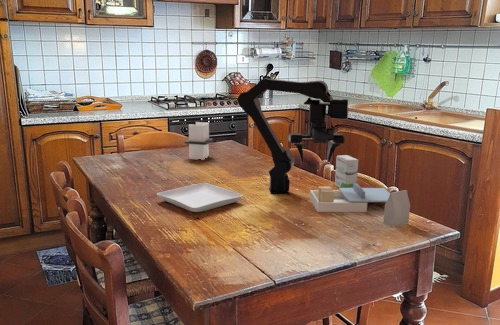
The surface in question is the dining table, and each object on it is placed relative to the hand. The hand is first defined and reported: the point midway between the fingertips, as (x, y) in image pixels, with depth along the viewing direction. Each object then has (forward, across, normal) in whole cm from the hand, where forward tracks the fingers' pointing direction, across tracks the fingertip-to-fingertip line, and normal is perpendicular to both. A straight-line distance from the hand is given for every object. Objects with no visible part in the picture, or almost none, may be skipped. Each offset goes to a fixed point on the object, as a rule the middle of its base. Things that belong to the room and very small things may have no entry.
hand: (315, 162), depth 167 cm
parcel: (+12, +2, -11) cm, 16 cm away
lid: (+9, +16, -11) cm, 21 cm away
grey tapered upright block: (+12, +20, -28) cm, 36 cm away
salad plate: (+13, -40, -8) cm, 43 cm away
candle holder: (+12, -43, +57) cm, 73 cm away
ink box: (+12, +14, +9) cm, 21 cm away
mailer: (+12, +6, -11) cm, 17 cm away
